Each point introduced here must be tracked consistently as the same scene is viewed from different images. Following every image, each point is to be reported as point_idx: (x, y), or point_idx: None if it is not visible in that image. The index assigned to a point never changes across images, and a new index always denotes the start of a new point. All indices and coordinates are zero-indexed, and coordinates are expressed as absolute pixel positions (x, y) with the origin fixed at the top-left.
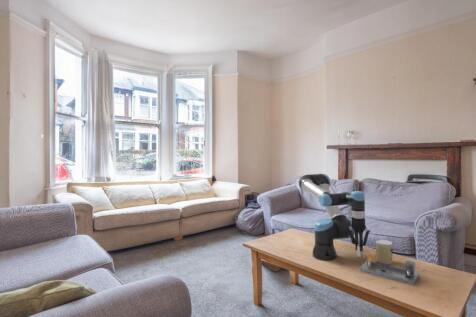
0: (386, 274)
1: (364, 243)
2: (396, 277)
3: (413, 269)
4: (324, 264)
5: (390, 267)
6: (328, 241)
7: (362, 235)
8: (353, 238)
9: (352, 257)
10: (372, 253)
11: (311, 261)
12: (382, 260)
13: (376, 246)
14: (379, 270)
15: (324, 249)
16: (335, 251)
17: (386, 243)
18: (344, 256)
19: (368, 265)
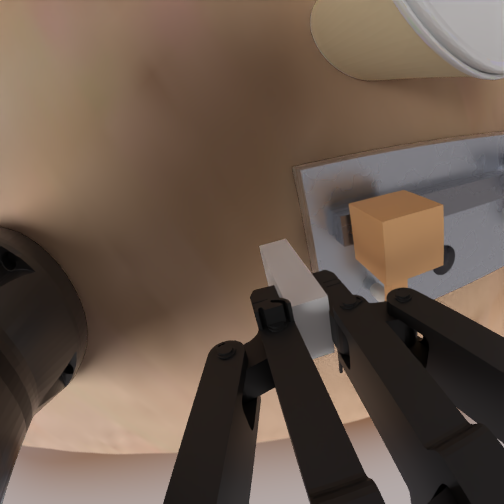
0: (461, 286)
1: (422, 358)
2: (492, 270)
3: None
4: (122, 406)
5: (474, 203)
6: (19, 442)
7: (453, 417)
8: (247, 437)
9: (130, 153)
10: (414, 225)
11: (62, 417)
12: (385, 79)
13: (397, 35)
14: (429, 273)
15: (39, 410)
16: (41, 302)
17: (499, 6)
18: (77, 195)
19: (376, 299)
